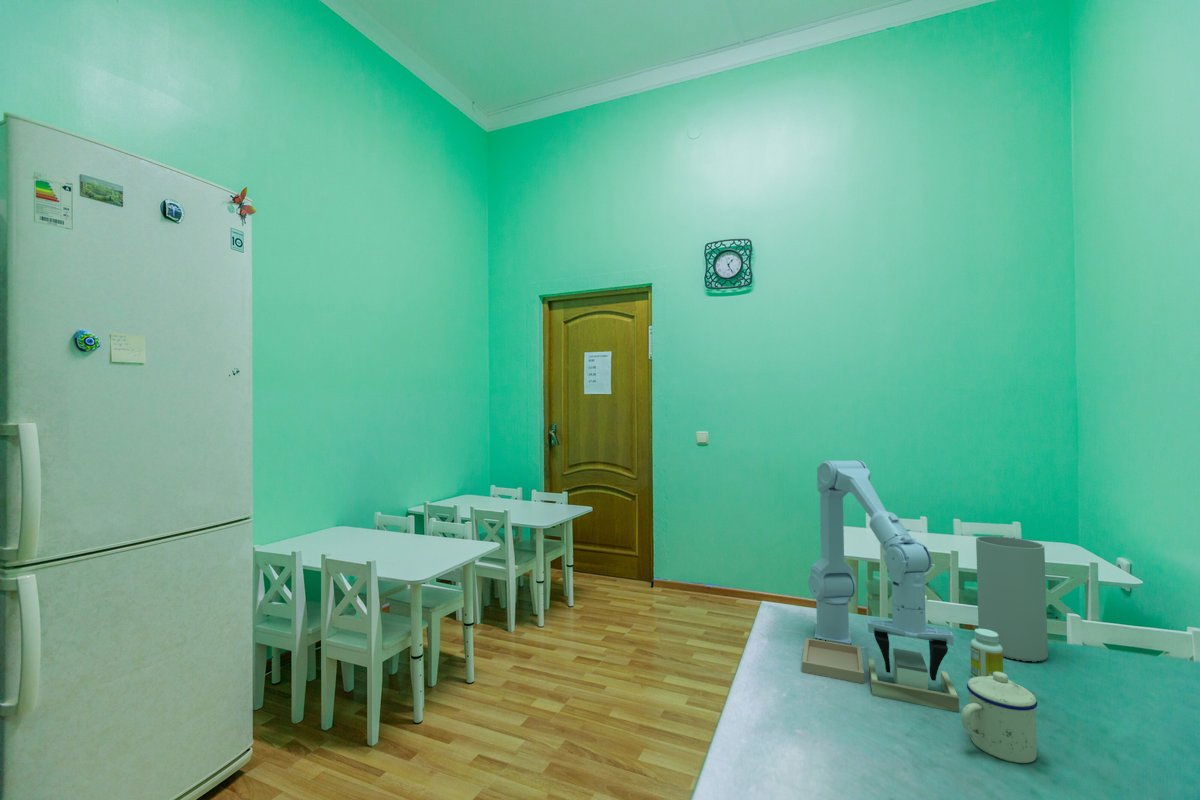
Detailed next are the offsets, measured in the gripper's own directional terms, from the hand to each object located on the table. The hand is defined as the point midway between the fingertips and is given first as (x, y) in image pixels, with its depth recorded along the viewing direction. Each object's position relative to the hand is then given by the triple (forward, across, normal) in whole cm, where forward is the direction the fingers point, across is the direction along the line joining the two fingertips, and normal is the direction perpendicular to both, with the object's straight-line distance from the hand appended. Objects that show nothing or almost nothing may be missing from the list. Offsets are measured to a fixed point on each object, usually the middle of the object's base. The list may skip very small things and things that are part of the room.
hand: (909, 674), depth 102 cm
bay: (+3, 0, 0) cm, 3 cm away
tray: (+3, -14, +5) cm, 15 cm away
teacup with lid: (+3, +10, -16) cm, 19 cm away
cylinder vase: (+3, +24, +30) cm, 39 cm away
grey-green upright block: (+3, 0, 0) cm, 3 cm away
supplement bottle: (+3, +15, +11) cm, 19 cm away
